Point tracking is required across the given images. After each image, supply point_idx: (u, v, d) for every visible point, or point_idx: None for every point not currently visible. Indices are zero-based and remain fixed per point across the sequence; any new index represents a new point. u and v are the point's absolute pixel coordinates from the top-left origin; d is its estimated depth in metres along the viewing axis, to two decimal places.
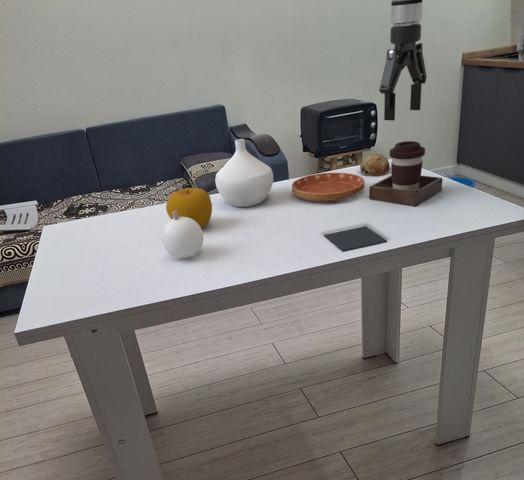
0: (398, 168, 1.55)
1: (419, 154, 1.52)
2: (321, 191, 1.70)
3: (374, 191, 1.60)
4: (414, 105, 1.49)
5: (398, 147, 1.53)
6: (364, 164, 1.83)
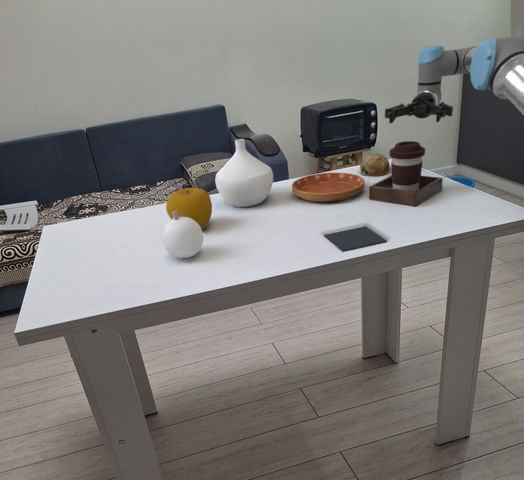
0: (398, 168, 1.55)
1: (419, 154, 1.52)
2: (321, 191, 1.70)
3: (374, 191, 1.60)
4: (436, 116, 1.58)
5: (398, 147, 1.53)
6: (364, 164, 1.83)
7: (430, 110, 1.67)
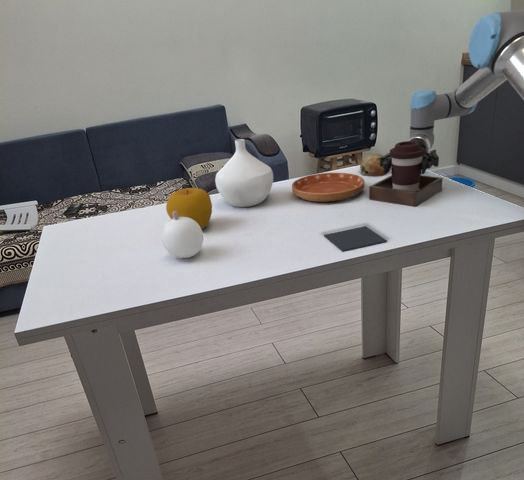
0: (398, 168, 1.55)
1: (419, 154, 1.52)
2: (321, 191, 1.70)
3: (374, 191, 1.60)
4: (422, 168, 1.54)
5: (398, 147, 1.53)
6: (364, 164, 1.83)
7: None
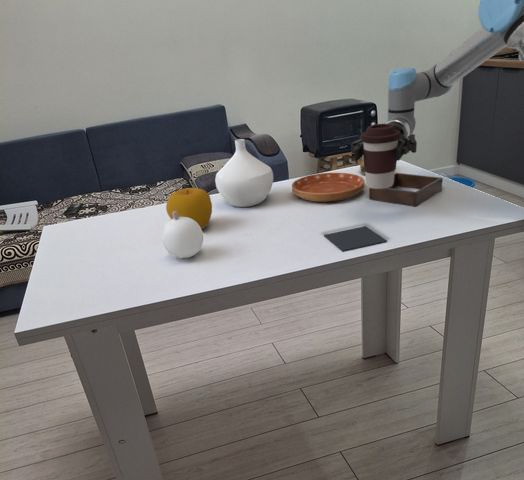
0: (370, 154, 1.37)
1: (393, 138, 1.34)
2: (321, 191, 1.70)
3: (374, 191, 1.60)
4: None
5: (370, 130, 1.35)
6: None
7: None
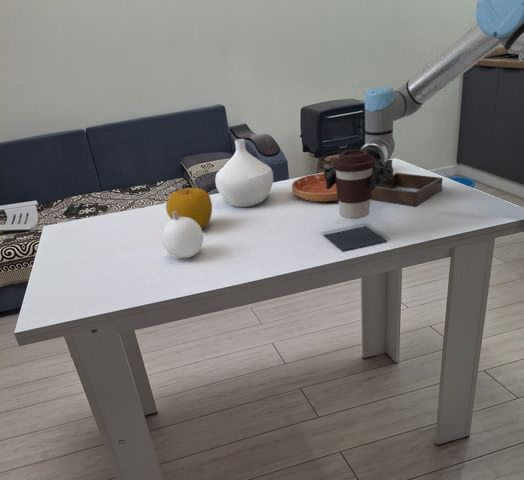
0: (343, 183, 1.27)
1: (367, 166, 1.24)
2: (321, 191, 1.70)
3: (374, 191, 1.60)
4: None
5: (342, 157, 1.25)
6: None
7: (372, 170, 1.35)
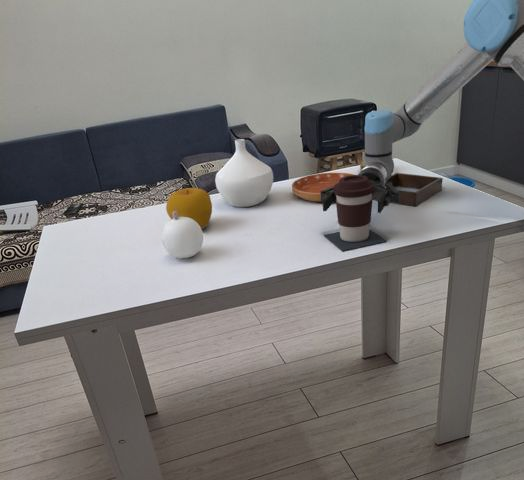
0: (343, 207, 1.30)
1: (367, 192, 1.27)
2: None
3: None
4: None
5: (342, 183, 1.28)
6: (364, 164, 1.83)
7: (374, 193, 1.38)
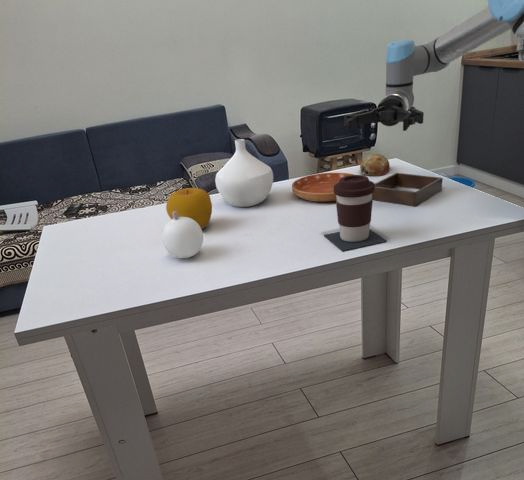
0: (343, 207, 1.30)
1: (367, 192, 1.27)
2: (321, 191, 1.70)
3: (374, 191, 1.60)
4: None
5: (342, 183, 1.28)
6: (364, 164, 1.83)
7: (398, 116, 1.40)
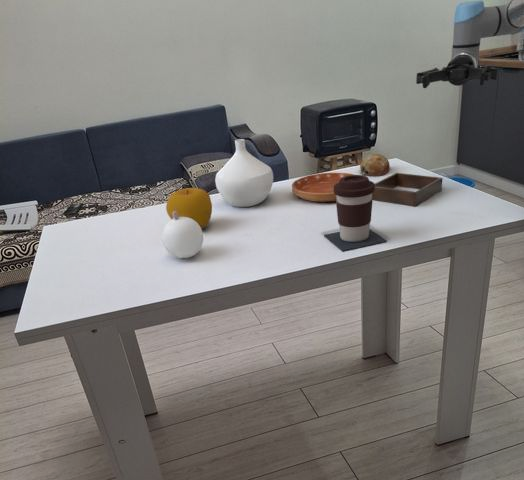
0: (343, 207, 1.30)
1: (367, 192, 1.27)
2: (321, 191, 1.70)
3: (374, 191, 1.60)
4: None
5: (342, 183, 1.28)
6: (364, 164, 1.83)
7: (470, 74, 1.42)
